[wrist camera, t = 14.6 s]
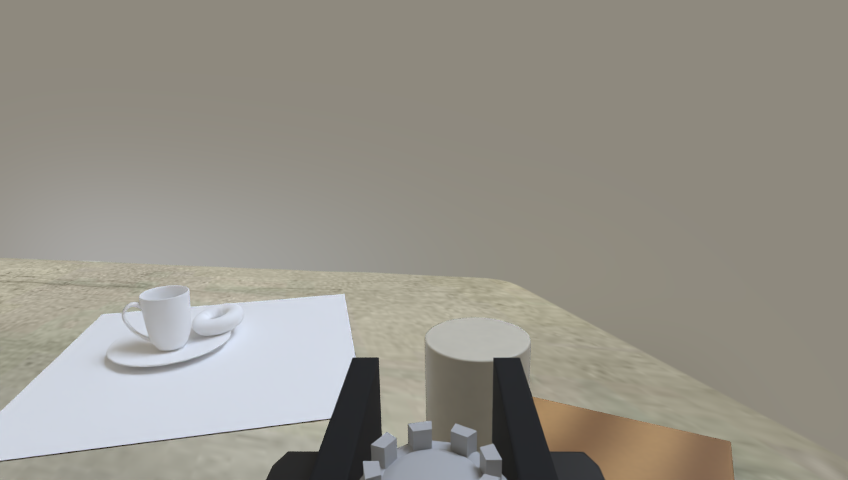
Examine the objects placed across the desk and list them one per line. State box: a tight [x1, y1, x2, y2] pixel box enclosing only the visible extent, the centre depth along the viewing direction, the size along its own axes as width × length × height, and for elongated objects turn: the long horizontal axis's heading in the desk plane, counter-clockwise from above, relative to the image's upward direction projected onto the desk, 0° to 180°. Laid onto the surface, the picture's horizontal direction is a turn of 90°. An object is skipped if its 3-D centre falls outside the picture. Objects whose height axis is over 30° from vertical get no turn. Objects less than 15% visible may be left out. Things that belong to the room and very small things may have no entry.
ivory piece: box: [425, 318, 531, 454], centre depth 21 cm, size 4×4×7 cm
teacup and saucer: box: [106, 285, 245, 368], centre depth 37 cm, size 9×8×4 cm
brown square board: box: [533, 397, 734, 480], centre depth 23 cm, size 13×11×1 cm
